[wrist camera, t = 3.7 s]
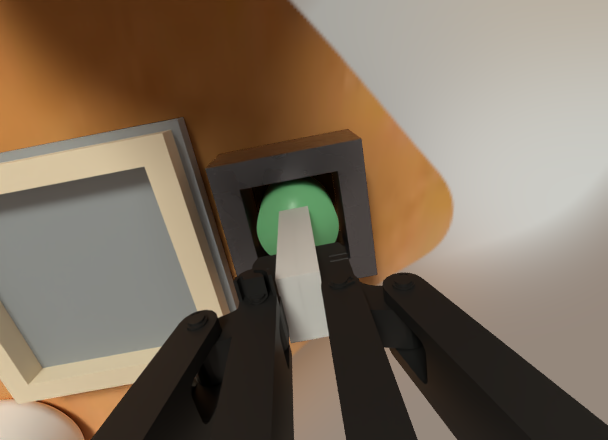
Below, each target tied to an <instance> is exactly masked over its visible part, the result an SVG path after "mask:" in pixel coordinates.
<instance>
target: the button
mask: <svg viewBox="0 0 608 440" xmlns="http://www.w3.org/2000/svg"><path fill="white" fill-rule="evenodd" d="M304 206H308V210H309V215H310V220H311V226H312V231H313V236H314V242H315V246H319V245H324V244H330V243H335V241H336V239H337V236H338V231H339V222H338V217H337V214H336V211H335V209H334V206H333V204H332V201H331V199H330V196H329V194H328V192H327V190H326V189H325V187H324V186H323V185H322V184H321V183H320V182H319V181H317V180H316V179H314V178H312V177H310V176H309V177H304V178H298V179H293V180H288V181H283V182H278V183H272V184H271V185H270V186H269V187H268V188H267V189H266V191H265V193H264V195H263V197H262V201H261V206H260V211H259V215H258V220H257V235H258V238H259V241H260V243H261V245H262V247H263V248H264V250H265V251H266V252H267V253H268V254H269V255H275V254H277V238H278V220H279V211H283V210H288V209H294V208H299V207H304Z"/></svg>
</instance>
